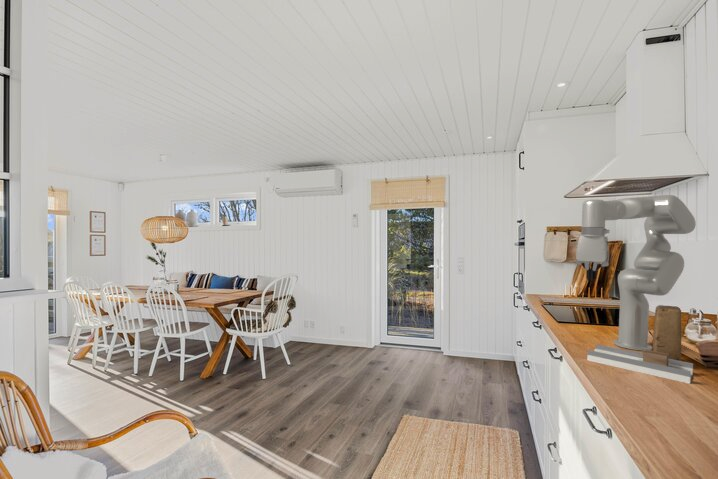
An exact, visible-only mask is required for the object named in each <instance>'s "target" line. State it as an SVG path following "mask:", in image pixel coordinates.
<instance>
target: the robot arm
mask: <svg viewBox="0 0 718 479" xmlns="http://www.w3.org/2000/svg"><path fill="white" fill-rule="evenodd" d="M581 208H582V209H581V210H582V211H581V213H582V214H581V234H580V235H579V237H578V240H577V245H576V250H575V252H576V253H575V258H576V261H575V264H576V265H579V266H582V267H583V269H585V270H586V272H585V273H586V274H585V276H586V277H585V278H586V279H587V282H595V280H596V279H597V271H598V270H599V269H600V268H603V267H608V266H609V264H610V263H609V260H610V249H609V247H610V246H609V238H608V236H606V234H610V232H611V231H610V229H607V228H606V221H618V220H634V219H635V220H636V219H643V218H645V219H644V224H643V227H644V231H645V237H646V239H645V240H646V242H645V244H644V245H643V247H642V248H641V250H640V252H638V254H637V256H636V257H635V259H634V261H633V267H634V268H625V269H623V270H620V272H619V273H618V275H617V284H618V289H619V290H618V292H619V314H618V317H619V318H618V339H614V340H613V344H614V345H615V346H617V347H621V348H624V349H626V350H627V349H629V350H632V351H633V350H634V351H641V352H644V351H645V350H651V351H653V345H650V344H649V343H648V339H649V338H648V337H649V314H650V313H649V312H650V304H649V301H648V299H647V297H646V296H645V294H646V295H652V296H666V295H668V294H669V293H670V292H671V290H672V289H673V287H674V286H675V284H676V283H677V281H678V280H679V278H680V276H681V275H682V273H683V271H684V269H685V259H684V257H683V255H682V254H680V253H679V252H676V251H671V250H672V247H671V243H670V241H668V239H667V238H666V237H665V235H688V234H690V233H692V232H693V231H694V230H695V229H696V226H697V225H696V224H697V223H696V219H695V216H694V215H693V213H692V212H691V211H690V210H689V208H688V207H687V205H686V204H685V203H684V202H683V201H682V199H681V198H679V197H678V196H676V195H675V194H674V195H673V194H664V195H652V196H650V195H649V196H640V197H626V198H619V199H613V200H603V199H588V200H584V201H583V203H582V207H581ZM591 263H593V264H592V265H593V266H592V268H591Z"/></svg>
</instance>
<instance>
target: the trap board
mask: <svg viewBox="0 0 718 479" xmlns="http://www.w3.org/2000/svg"><path fill="white" fill-rule="evenodd" d="M586 357H587V361H588V362H593V363H598V364H601V365H602V364H603V365H606V366H610V367H614V368H615V367H616V368H620V369H624V370H627V371H632V372H636V373H641V374H646V375H651V376H653V377H659V378H663V379H667V380H673V381H676V382H681V383H684V384H685V383H686V384H689V385H690V383H691V382H692V378H693V375H694V363H692V362H687V361H682V360H680V361H678V360H673V359H669V361H668V367H667V366H663V365H658V364H653V363H648V362H644V361H643V352H642V353H641V352H636V351H633V350H627V349H622V348H616V347H612V346H606V345H601V344H595V349H594V350H591V349H587V356H586Z"/></svg>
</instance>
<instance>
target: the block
mask: <svg viewBox="0 0 718 479" xmlns="http://www.w3.org/2000/svg"><path fill="white" fill-rule="evenodd" d="M653 320H654V321H653V336H652V351H656V352H661V353H666V354H669V359H673V360H678V361H682V358H681V357H682V354H681V353H682V309H681V308H680V307H678V306H674V305H663V304H659V305H657V306H656V307H655V311H654V319H653Z"/></svg>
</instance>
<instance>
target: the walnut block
mask: <svg viewBox="0 0 718 479" xmlns="http://www.w3.org/2000/svg"><path fill="white" fill-rule="evenodd" d="M642 353H643V361H644V362H648V363H653V364H658V365H663V366H667V367H668V361H669V354H666V353H661V352H656V351H653V350H645V351H642Z"/></svg>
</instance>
